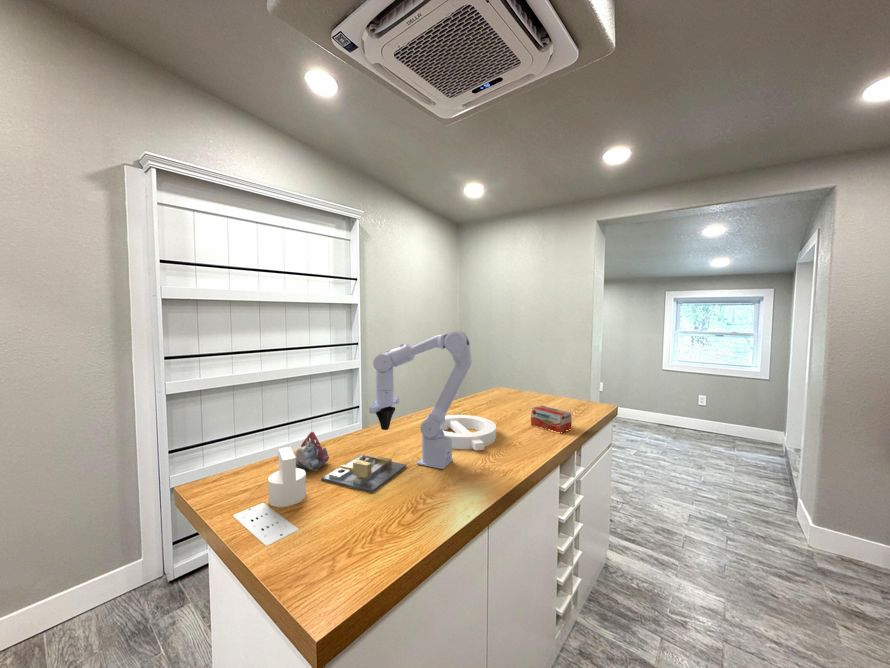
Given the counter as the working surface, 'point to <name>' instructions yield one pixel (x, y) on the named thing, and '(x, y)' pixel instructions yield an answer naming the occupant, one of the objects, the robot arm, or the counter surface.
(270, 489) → the base with upright slab
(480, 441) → the white circle with bar
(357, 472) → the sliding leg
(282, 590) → the counter surface
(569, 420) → the medicine box
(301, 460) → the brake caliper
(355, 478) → the grey mechanism base plate
